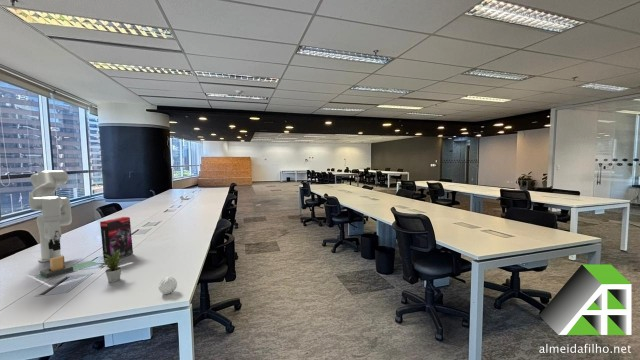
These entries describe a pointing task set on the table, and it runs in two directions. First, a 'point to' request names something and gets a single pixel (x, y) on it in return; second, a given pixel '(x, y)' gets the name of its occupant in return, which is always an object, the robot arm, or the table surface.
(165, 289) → the white rough ball
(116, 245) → the graphics card box
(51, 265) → the plug
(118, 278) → the house plant
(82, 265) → the header board
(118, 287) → the table surface
